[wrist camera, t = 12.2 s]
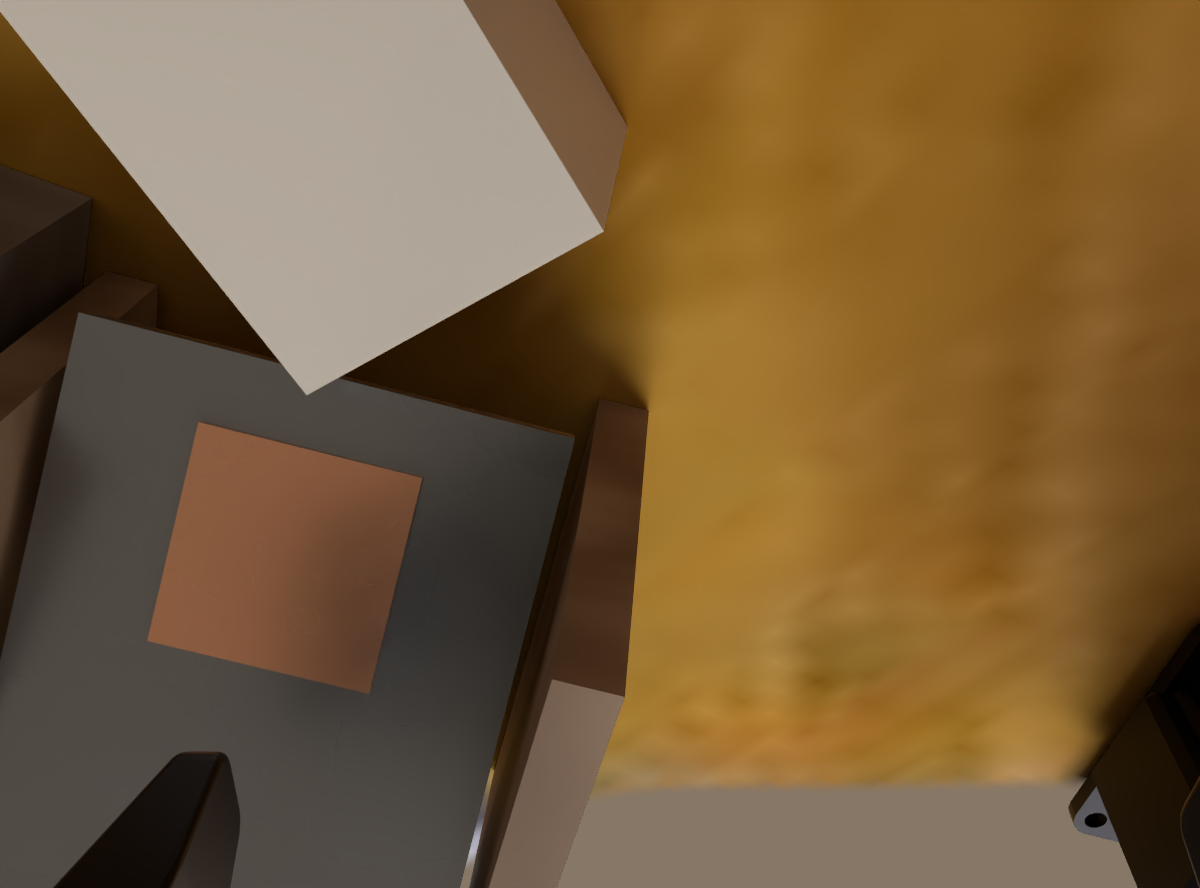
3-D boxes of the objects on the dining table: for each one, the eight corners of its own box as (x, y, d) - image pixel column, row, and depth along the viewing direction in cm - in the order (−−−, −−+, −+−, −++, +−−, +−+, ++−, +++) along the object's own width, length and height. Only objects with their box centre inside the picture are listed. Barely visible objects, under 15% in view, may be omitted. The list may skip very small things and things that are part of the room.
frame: (678, 418, 21) (668, 712, 14) (556, 787, 27) (506, 1128, 20) (75, 263, 21) (-244, 493, 14) (79, 675, 26) (-145, 986, 19)
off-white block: (627, 124, 19) (389, -293, 16) (603, 232, 14) (257, -339, 11) (398, 259, 20) (144, -100, 17) (306, 395, 15) (-63, -67, 13)
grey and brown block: (571, 419, 23) (575, 439, 17) (432, 960, 24) (388, 1163, 18) (204, 325, 23) (75, 311, 17) (75, 880, 23) (-94, 1061, 17)
